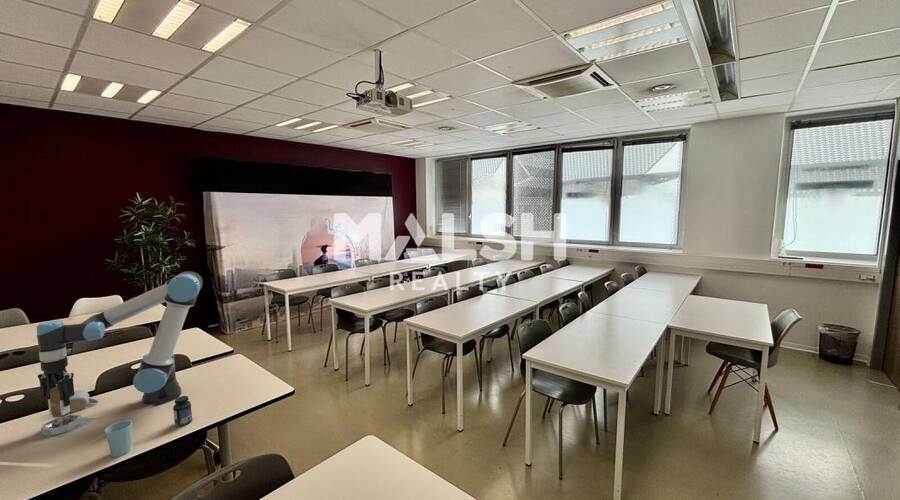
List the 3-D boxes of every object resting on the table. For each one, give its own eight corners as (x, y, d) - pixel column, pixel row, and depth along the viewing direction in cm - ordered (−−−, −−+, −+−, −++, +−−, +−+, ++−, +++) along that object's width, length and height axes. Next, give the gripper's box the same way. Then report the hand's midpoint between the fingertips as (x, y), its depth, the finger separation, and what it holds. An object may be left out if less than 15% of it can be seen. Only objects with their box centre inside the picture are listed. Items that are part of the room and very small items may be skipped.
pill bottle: (195, 418, 160) (193, 394, 159) (187, 426, 154) (185, 401, 153) (179, 419, 159) (177, 395, 158) (171, 427, 153) (169, 402, 152)
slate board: (97, 419, 160) (97, 417, 160) (61, 439, 146) (61, 437, 146) (70, 418, 161) (70, 416, 160) (31, 438, 147) (31, 436, 147)
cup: (107, 451, 138) (105, 425, 137) (134, 443, 143) (132, 418, 142) (106, 461, 132) (103, 434, 131) (134, 452, 137) (132, 426, 136)
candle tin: (64, 420, 158) (64, 413, 158) (88, 420, 157) (87, 413, 157) (34, 435, 147) (33, 428, 147) (59, 436, 146) (58, 428, 146)
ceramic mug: (65, 416, 163) (64, 399, 162) (67, 409, 169) (65, 393, 168) (98, 407, 170) (97, 392, 169) (98, 401, 176) (97, 386, 175)
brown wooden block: (58, 414, 153) (55, 386, 152) (68, 414, 152) (65, 387, 151) (52, 417, 151) (49, 389, 149) (62, 417, 150) (59, 389, 149)
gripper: (83, 355, 152) (89, 409, 154) (45, 354, 154) (51, 407, 156) (63, 363, 145) (69, 418, 147) (23, 362, 146) (29, 417, 148)
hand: (60, 413), depth 151 cm, fingers closed on brown wooden block, 4 cm apart
